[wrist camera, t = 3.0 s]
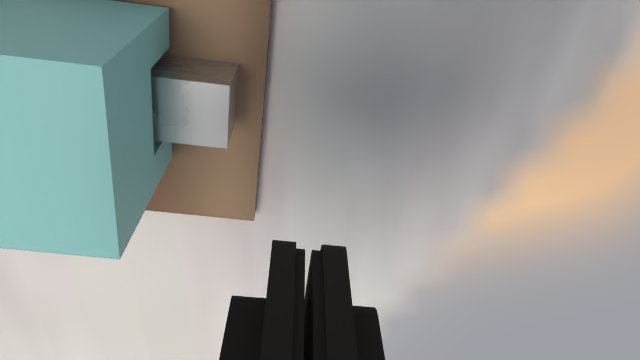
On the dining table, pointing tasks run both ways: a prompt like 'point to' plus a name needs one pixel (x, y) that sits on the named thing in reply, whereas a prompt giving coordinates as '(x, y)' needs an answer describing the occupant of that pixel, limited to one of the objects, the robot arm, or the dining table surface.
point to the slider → (78, 123)
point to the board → (244, 147)
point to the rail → (194, 100)
